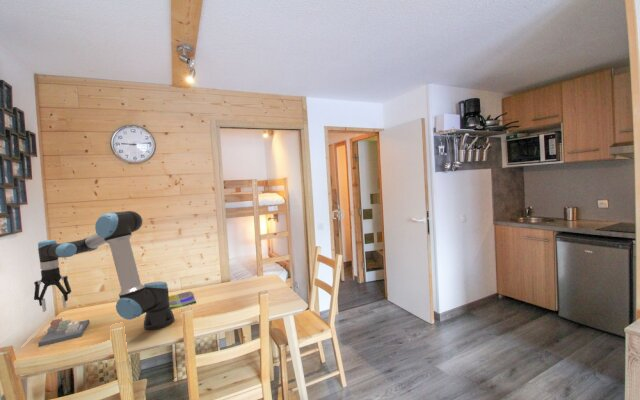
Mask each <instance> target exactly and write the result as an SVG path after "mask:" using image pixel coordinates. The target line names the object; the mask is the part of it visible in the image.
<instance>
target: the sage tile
mask: <svg viewBox="0 0 640 400" xmlns="http://www.w3.org/2000/svg"><path fill="white" fill-rule="evenodd" d="M71 322H72V321H71V319H66V320H62V321H61V322H60V323H59V330H60V329H64V328H68V324H69V323H71Z"/></svg>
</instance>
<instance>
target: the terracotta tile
mask: <svg viewBox="0 0 640 400" xmlns="http://www.w3.org/2000/svg"><path fill="white" fill-rule="evenodd" d="M61 321H63V318H62V317H60V318H56V319H52V320H51V322H50V323H49V324H50V326H51V328H54V327H58V326H59V323H60V322H61Z"/></svg>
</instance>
